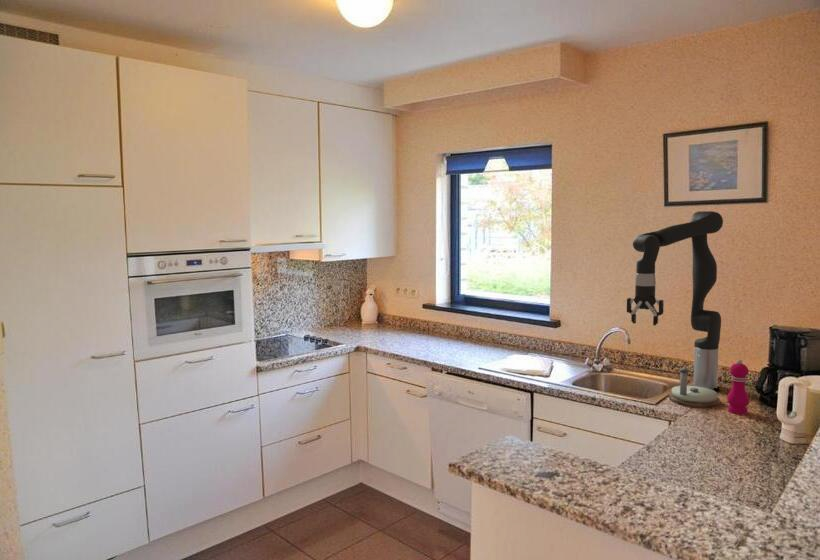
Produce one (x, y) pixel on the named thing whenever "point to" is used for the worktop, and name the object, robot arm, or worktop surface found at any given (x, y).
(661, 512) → the worktop surface
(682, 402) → the grey flat disc
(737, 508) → the worktop surface
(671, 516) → the worktop surface
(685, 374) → the dial
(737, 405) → the pepper mill
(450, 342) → the worktop surface
